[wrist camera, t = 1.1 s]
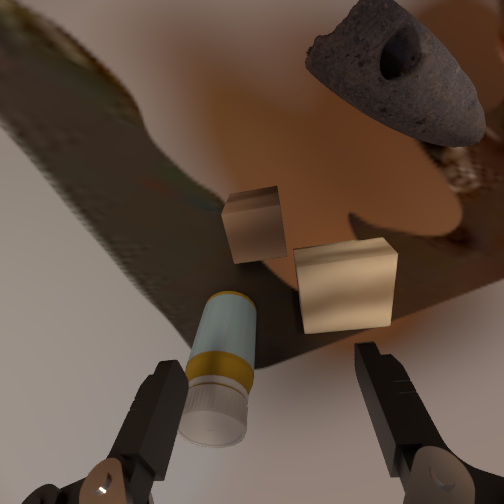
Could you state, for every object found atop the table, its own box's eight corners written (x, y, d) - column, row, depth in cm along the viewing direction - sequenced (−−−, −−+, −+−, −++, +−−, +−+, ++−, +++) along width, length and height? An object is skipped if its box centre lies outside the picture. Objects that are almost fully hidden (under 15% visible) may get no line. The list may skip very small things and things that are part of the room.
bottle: (208, 325, 36) (175, 447, 23) (203, 286, 32) (162, 405, 19) (256, 327, 35) (250, 452, 22) (257, 288, 32) (251, 410, 19)
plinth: (292, 248, 29) (296, 267, 26) (381, 236, 28) (397, 253, 24) (300, 311, 34) (304, 334, 31) (376, 303, 33) (390, 325, 29)
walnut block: (230, 194, 26) (221, 214, 21) (277, 185, 25) (280, 204, 20) (240, 236, 28) (234, 263, 23) (283, 229, 28) (287, 256, 23)
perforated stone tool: (472, 110, 21) (553, 110, 15) (423, 165, 24) (477, 183, 18) (334, -4, 18) (367, -60, 12) (294, 72, 21) (305, 56, 15)
